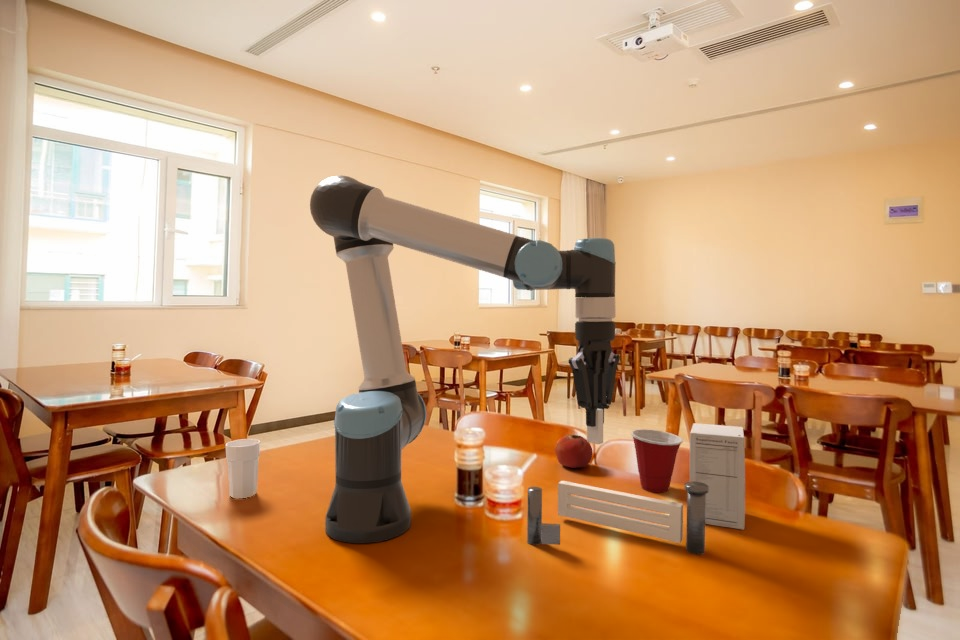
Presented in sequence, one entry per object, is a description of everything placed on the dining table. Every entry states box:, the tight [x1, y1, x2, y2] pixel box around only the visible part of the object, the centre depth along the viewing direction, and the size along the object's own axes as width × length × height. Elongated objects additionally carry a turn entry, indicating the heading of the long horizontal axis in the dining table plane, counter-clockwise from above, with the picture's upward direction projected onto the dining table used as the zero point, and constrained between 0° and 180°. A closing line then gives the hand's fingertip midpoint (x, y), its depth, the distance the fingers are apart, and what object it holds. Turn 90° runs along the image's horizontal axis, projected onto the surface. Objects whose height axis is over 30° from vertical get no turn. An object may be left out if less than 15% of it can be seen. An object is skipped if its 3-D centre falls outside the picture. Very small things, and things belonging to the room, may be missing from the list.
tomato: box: [554, 434, 593, 469], centre depth 133 cm, size 9×9×8 cm
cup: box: [225, 438, 261, 499], centre depth 112 cm, size 7×7×11 cm
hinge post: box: [684, 481, 709, 556], centre depth 87 cm, size 4×4×11 cm
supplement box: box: [689, 422, 746, 530], centre depth 101 cm, size 10×9×17 cm
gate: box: [557, 480, 684, 544], centre depth 94 cm, size 22×2×6 cm, turn 58°
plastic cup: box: [630, 428, 684, 494], centre depth 117 cm, size 11×11×12 cm
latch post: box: [526, 486, 561, 546], centre depth 89 cm, size 5×4×9 cm
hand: (595, 442), depth 103 cm, fingers closed
